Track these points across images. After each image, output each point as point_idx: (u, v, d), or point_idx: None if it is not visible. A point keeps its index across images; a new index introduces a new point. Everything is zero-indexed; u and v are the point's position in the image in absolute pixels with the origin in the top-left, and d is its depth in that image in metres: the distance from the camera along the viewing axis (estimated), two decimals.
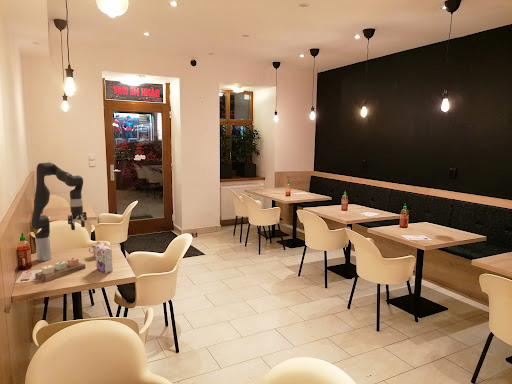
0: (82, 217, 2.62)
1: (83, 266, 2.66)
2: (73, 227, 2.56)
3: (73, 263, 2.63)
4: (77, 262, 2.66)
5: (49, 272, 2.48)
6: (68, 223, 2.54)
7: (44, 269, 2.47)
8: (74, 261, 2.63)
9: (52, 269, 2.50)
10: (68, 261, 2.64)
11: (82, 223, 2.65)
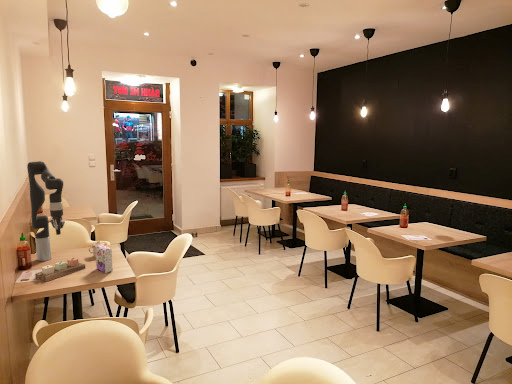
0: None
1: (83, 266, 2.66)
2: None
3: (73, 263, 2.63)
4: (77, 262, 2.66)
5: (49, 272, 2.48)
6: (59, 228, 2.52)
7: (44, 269, 2.47)
8: (74, 261, 2.63)
9: (52, 269, 2.50)
10: (68, 261, 2.64)
11: None
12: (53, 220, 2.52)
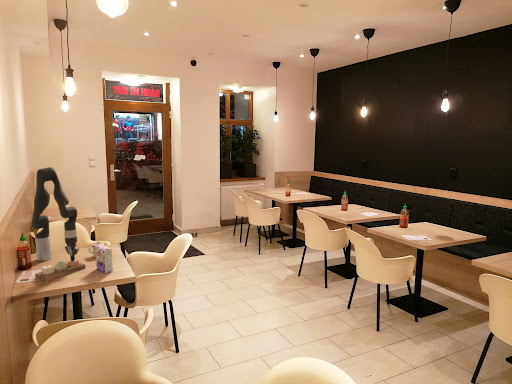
0: None
1: (83, 266, 2.66)
2: None
3: (73, 265, 2.63)
4: (77, 264, 2.66)
5: (49, 272, 2.48)
6: (74, 254, 2.62)
7: (44, 269, 2.47)
8: (74, 263, 2.64)
9: (52, 269, 2.50)
10: (68, 263, 2.64)
11: None
12: (68, 247, 2.62)
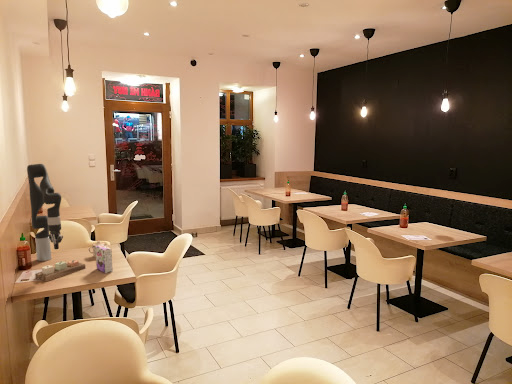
0: None
1: (83, 266, 2.66)
2: None
3: None
4: (77, 264, 2.66)
5: (49, 272, 2.48)
6: (57, 243, 2.51)
7: (44, 269, 2.47)
8: (74, 264, 2.64)
9: (52, 269, 2.50)
10: (68, 264, 2.64)
11: None
12: (51, 235, 2.51)
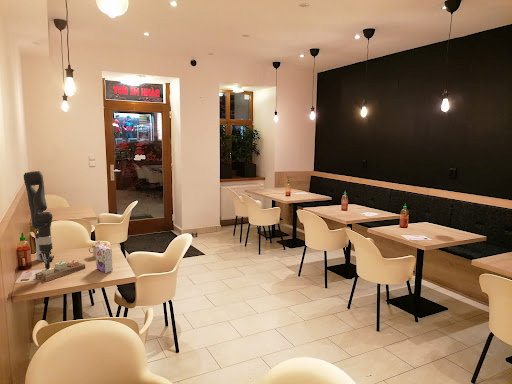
0: None
1: (83, 266, 2.66)
2: None
3: None
4: (77, 264, 2.66)
5: None
6: (48, 262, 2.47)
7: (44, 271, 2.48)
8: (74, 264, 2.64)
9: (52, 271, 2.50)
10: (68, 264, 2.64)
11: None
12: (42, 254, 2.47)
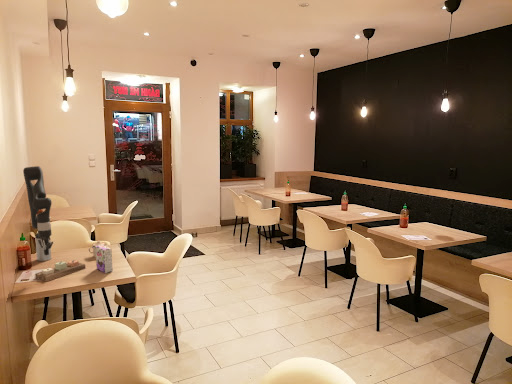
0: None
1: (83, 266, 2.66)
2: None
3: None
4: (77, 264, 2.66)
5: None
6: (47, 248, 2.46)
7: (44, 272, 2.48)
8: (74, 264, 2.64)
9: (52, 272, 2.50)
10: (68, 264, 2.64)
11: None
12: (41, 240, 2.46)
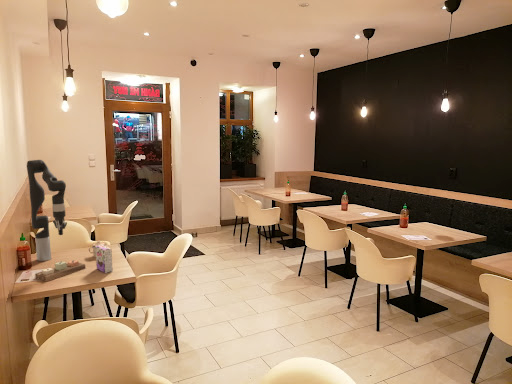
0: None
1: (83, 266, 2.66)
2: None
3: None
4: (77, 264, 2.66)
5: None
6: (61, 229, 2.59)
7: (44, 272, 2.48)
8: (74, 264, 2.64)
9: (52, 272, 2.50)
10: (68, 264, 2.64)
11: None
12: (56, 221, 2.59)
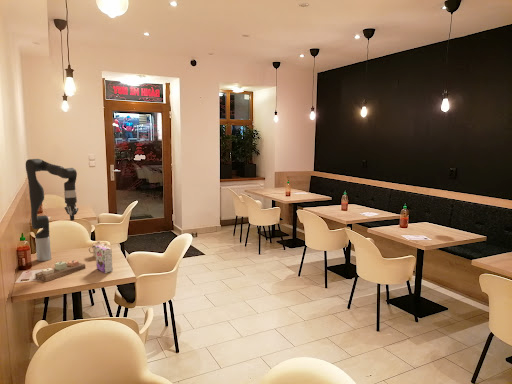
0: None
1: (83, 266, 2.66)
2: (73, 217, 2.73)
3: None
4: (77, 264, 2.66)
5: None
6: (73, 214, 2.70)
7: (44, 272, 2.48)
8: (74, 264, 2.64)
9: (52, 272, 2.50)
10: (68, 264, 2.64)
11: None
12: (67, 207, 2.70)
